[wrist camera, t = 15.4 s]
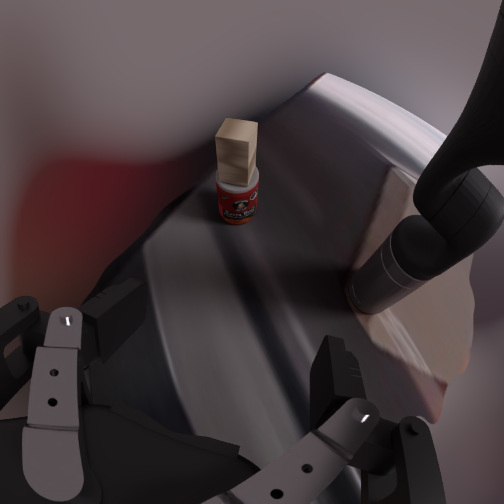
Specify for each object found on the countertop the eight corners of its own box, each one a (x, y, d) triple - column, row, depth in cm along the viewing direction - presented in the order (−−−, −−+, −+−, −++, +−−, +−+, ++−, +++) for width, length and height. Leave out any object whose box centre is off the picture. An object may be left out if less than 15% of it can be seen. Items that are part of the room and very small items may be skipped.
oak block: (255, 166, 47) (257, 122, 38) (247, 186, 45) (248, 141, 36) (228, 161, 48) (226, 117, 39) (219, 181, 45) (215, 136, 37)
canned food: (221, 228, 54) (217, 193, 44) (217, 197, 57) (213, 161, 48) (259, 223, 55) (263, 188, 45) (252, 192, 58) (254, 156, 48)
